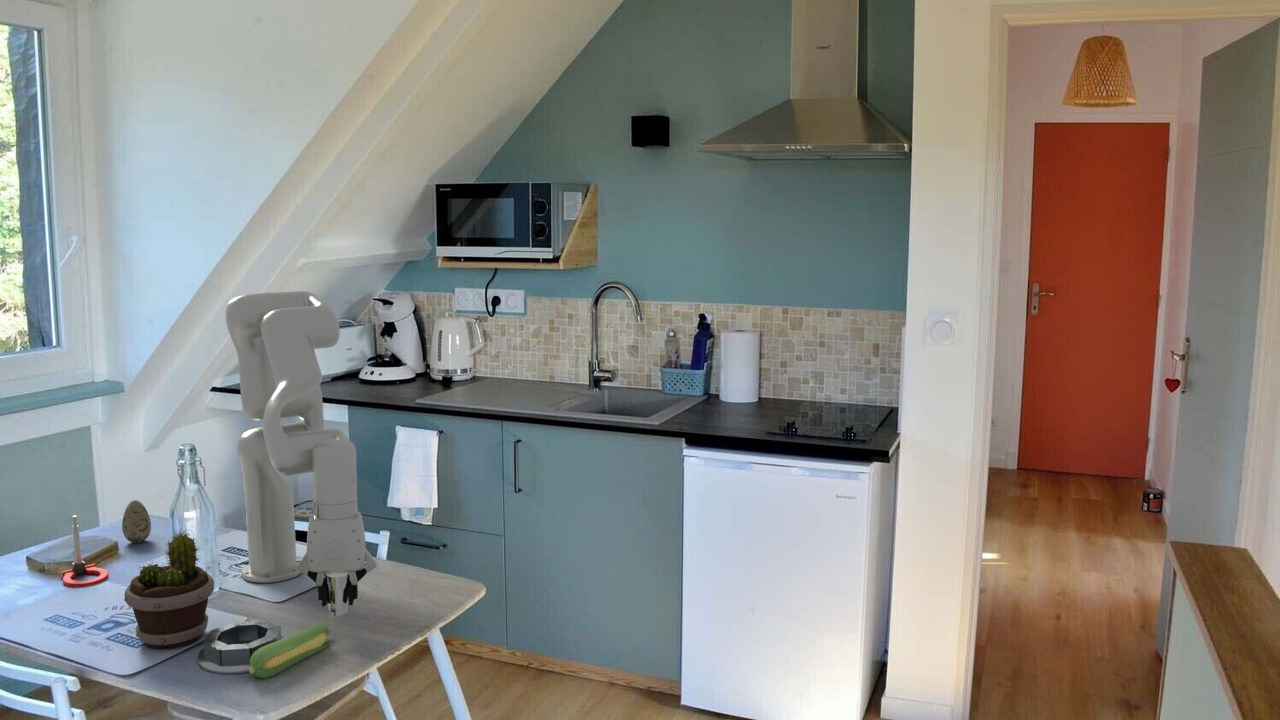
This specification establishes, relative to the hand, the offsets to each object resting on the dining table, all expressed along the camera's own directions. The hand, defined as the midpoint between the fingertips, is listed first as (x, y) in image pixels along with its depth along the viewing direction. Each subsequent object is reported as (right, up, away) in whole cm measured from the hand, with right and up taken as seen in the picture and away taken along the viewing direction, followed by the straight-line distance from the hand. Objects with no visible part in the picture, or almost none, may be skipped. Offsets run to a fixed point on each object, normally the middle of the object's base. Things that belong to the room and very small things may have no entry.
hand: (338, 601), depth 193 cm
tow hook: (-60, -2, +26) cm, 66 cm away
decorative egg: (-60, +2, +48) cm, 77 cm away
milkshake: (0, -2, 0) cm, 2 cm away
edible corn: (-4, -8, -10) cm, 14 cm away
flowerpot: (-29, -6, -2) cm, 30 cm away
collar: (-14, -7, -8) cm, 18 cm away
